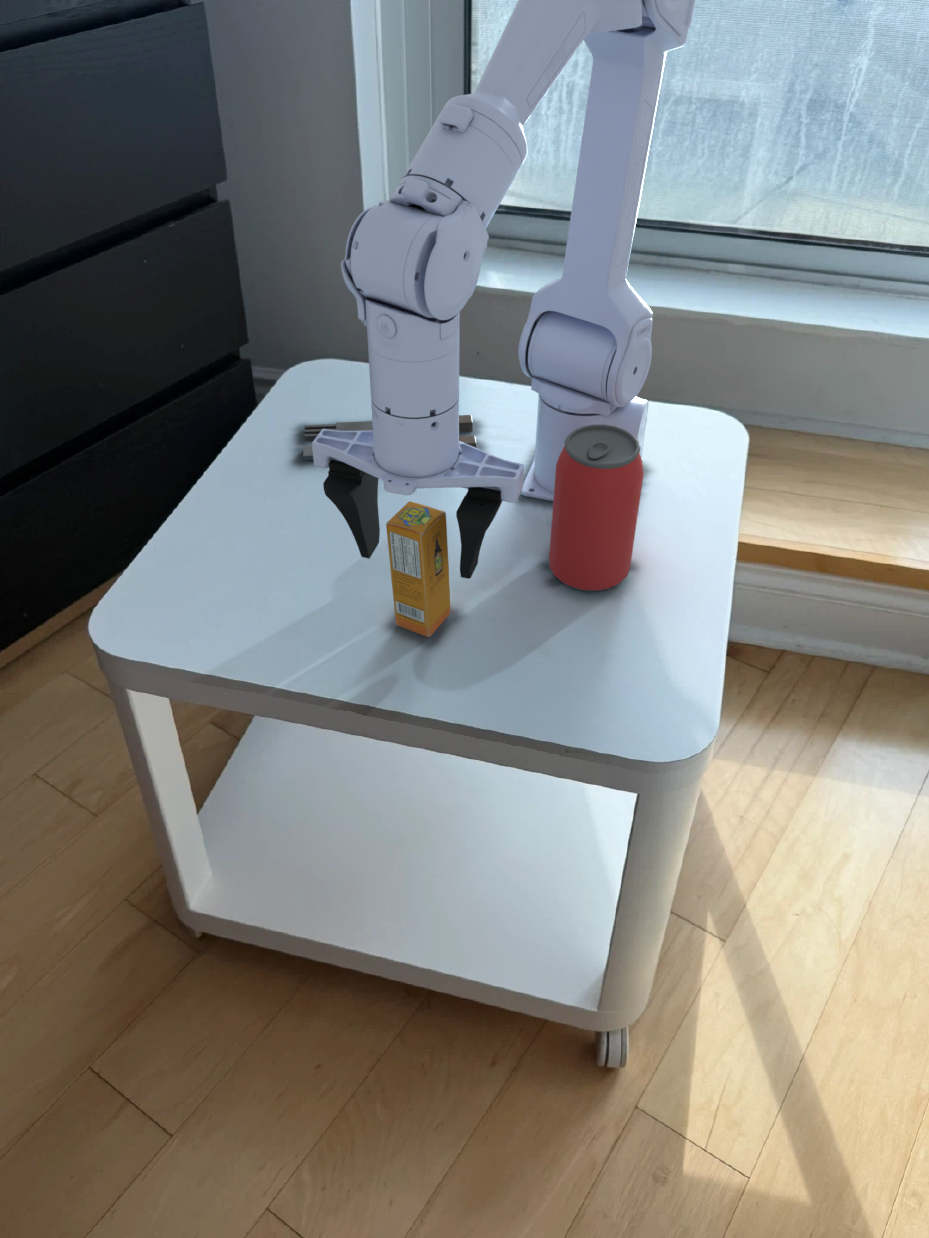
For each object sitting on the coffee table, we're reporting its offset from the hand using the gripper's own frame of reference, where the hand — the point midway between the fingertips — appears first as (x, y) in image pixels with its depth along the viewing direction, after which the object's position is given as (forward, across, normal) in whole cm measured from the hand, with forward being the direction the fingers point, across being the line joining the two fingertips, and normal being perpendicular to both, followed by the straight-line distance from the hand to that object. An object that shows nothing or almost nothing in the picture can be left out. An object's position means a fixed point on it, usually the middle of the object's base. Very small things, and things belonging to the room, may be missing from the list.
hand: (419, 559), depth 78 cm
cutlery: (+6, -11, +23) cm, 26 cm away
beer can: (+6, +11, +10) cm, 16 cm away
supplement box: (+6, 0, 0) cm, 6 cm away
